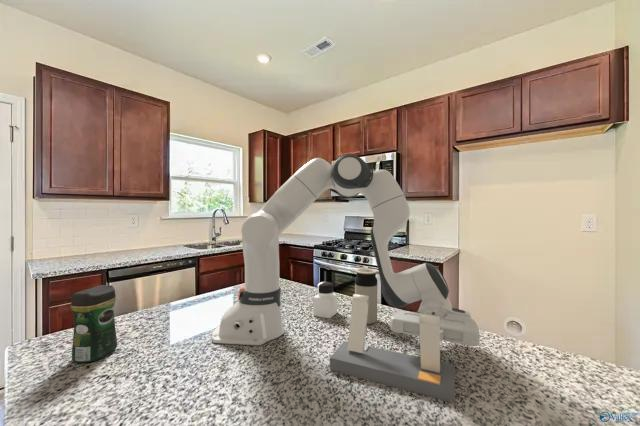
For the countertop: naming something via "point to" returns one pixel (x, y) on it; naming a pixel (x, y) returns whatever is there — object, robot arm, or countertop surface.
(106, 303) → the coffee jar
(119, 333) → the countertop surface
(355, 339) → the inner lever
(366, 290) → the travel mug
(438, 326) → the outer lever
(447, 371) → the switch unit
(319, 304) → the medicine bottle
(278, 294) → the robot arm
